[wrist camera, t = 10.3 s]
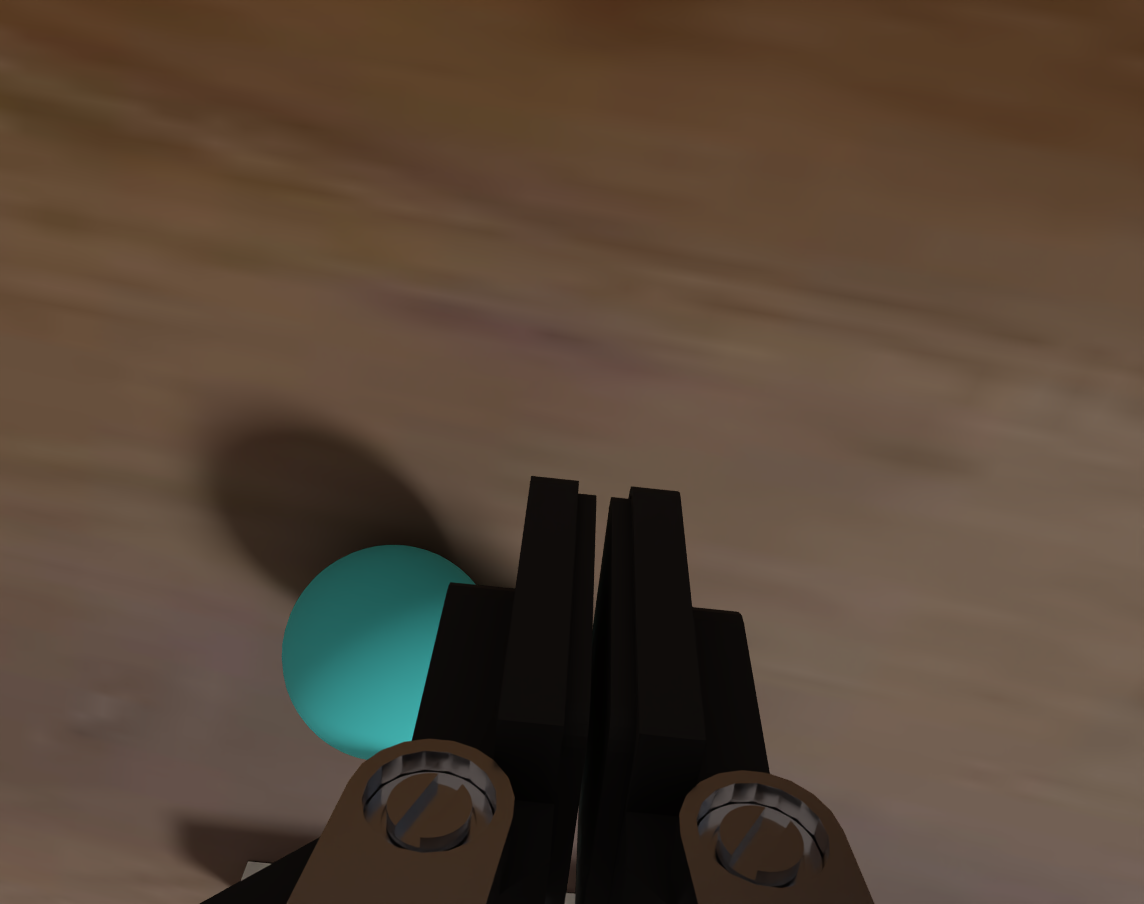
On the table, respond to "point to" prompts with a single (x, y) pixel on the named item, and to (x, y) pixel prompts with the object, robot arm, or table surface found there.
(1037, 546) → the table surface
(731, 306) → the table surface
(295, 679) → the ball
